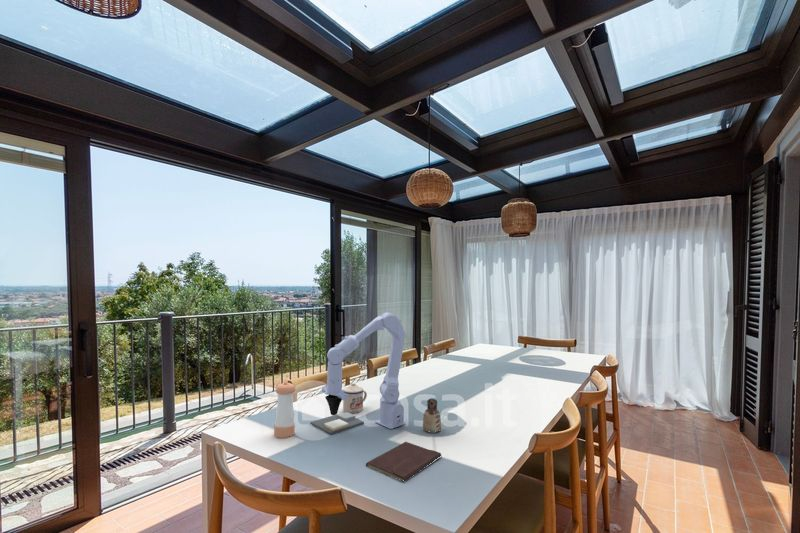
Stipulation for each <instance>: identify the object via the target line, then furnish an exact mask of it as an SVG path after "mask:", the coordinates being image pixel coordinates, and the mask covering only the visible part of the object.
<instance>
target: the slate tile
mask: <svg viewBox="0 0 800 533" xmlns="http://www.w3.org/2000/svg"><path fill="white" fill-rule="evenodd" d="M336 415H337V418H338V419H341V420H343V421H345V422H346V421H349V420H353V419H355V418H356V415H354V413H348V412H345V411H344V412H341V414H340V413H337V414H336Z"/></svg>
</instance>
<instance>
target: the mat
mask: <svg viewBox="0 0 800 533" xmlns="http://www.w3.org/2000/svg"><path fill="white" fill-rule="evenodd" d="M341 413H342V412H341ZM341 413H339V414H341ZM334 420H338V418H337V414H336V415H330V416H327V417H324V418H320V419H316V420H313V421H310V422H309V424H310V425H311V424H312V425H311V426H312V427H315V428H316V427H317V429H318V430H320V431H322V432H324V433H326V434H328V435H330V436H331V435H333V434H336V433H340V432H343V431H346V430H349V429H352V428H355V427H359V426H361V425H364V424H365V421H362V420H361V419H358V418H357V417H355V419H353V420H349V421H346V422H347V423H348V427H345V428H342V429H339V430H336V431H331V430H330V429H328V428H326V427H324V423H328V422H331V421H334ZM340 420H341V419H340ZM342 421H343V420H342Z"/></svg>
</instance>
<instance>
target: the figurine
mask: <svg viewBox="0 0 800 533" xmlns="http://www.w3.org/2000/svg"><path fill="white" fill-rule="evenodd" d="M426 402H427V403H426V406H427V409H426V410H425V411H424V412H423V418H422V419H423V420H422V430H423V429H424V430H425V431H424V430H423V431H424V432H426V431H430V432H435V431H439V430H441V431H442V422H441V420H442V419H441V413H440V411H439V410H438V400H437V399H436V398H435V397H430V398H428V399H427V401H426Z"/></svg>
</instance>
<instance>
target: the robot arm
mask: <svg viewBox="0 0 800 533" xmlns="http://www.w3.org/2000/svg"><path fill="white" fill-rule="evenodd" d="M385 329H386V330H387V331H388V333H389V334H390V335H391V336H392V339H391V345H390V349H389V350H390V351H389V355H388V361H387V364H386V365H387V366H386V367H387V368H386V370H385V371H386V372H385V375H384V377H383V381H382V383H381V384H380V386H379V392H380V394H381V397H380V400H379V402H380V403H379V409H380V410H379V419H378V420H375V423H376V424H378V425H380V426H383V427H385V428H387V429H394V428H395V429H396V428H397V427H400V426H403V425H406V422H405V421H404V418H405V416H404V415H405V409H404V406H403V405H402V404H401V403H400V402H399V398H400V391H399V373H400V369H401V362H402V356H403V351H404V345H405V341H406V340H405V339H406V332H405V329H404V327H403V324H402V321H401V319H400V318H399V317H398V316H397V315H396V314H393V313H391V312H389V311H386V312H382V313H381V314H380V315H378V316H377V317H375V318H374V319H372V321H370V322H369V323H367V325H365V326H364V327H363V328H362V329H361V330H359V331H358V332H357V333H355V335H354V334H349V335H346V336H345V337H344V339H343V340H342V341H340V342H339V343H338V344H337V343H336V344H335V345H334V347H331V348H329V350H328V352H327V353H326V357H327V359H328V361H327V368H326V369H327V370H326V372H327V373H326V374H327V375H326V379H327V380H326V383H327V384H326V385H325V386H322V388H321V392H322V393H324V395H326V396H325V400H326V402H327V404H328V408H329V413H330V416H333V415H337V414H338V411H339V408H340V405H341V402H343V400H346V399H347V394H346V393H345V392H344V391H343V361H344V358H345V357H347V356H349V355H350V354H351V353H353V352H354V351H355V350H356V349H357V348H359V347H360V343H361V341H363V340H365V339H366V338H367V337H369V336H370V335H371V334H373V333H374V332H376V331H383V330H385Z"/></svg>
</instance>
